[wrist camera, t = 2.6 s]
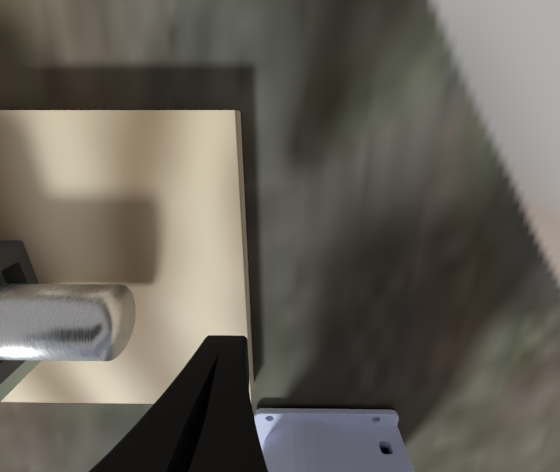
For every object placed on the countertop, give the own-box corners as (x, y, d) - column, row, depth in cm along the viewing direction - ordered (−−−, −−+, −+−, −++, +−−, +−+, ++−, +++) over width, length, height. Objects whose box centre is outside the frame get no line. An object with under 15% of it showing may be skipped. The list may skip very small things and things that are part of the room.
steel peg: (127, 271, 12) (82, 315, 10) (140, 325, 13) (103, 378, 11) (-74, 269, 12) (-177, 313, 10) (-44, 323, 14) (-128, 376, 11)
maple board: (240, 111, 12) (234, 110, 11) (253, 382, 18) (251, 404, 17) (-265, 111, 12) (-336, 110, 11) (-83, 379, 18) (-113, 400, 17)
